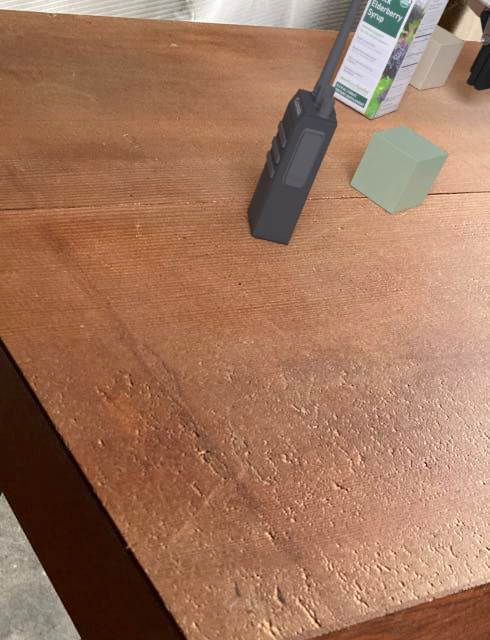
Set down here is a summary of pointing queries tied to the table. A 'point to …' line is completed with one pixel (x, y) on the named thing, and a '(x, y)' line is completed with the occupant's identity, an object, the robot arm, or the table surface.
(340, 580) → the table surface
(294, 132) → the walkie-talkie
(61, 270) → the table surface
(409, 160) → the sage block
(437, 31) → the cream block
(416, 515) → the table surface
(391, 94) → the syrup box
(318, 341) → the table surface
